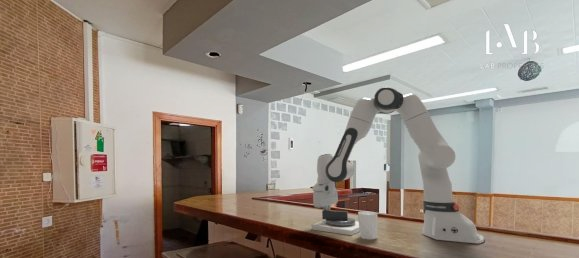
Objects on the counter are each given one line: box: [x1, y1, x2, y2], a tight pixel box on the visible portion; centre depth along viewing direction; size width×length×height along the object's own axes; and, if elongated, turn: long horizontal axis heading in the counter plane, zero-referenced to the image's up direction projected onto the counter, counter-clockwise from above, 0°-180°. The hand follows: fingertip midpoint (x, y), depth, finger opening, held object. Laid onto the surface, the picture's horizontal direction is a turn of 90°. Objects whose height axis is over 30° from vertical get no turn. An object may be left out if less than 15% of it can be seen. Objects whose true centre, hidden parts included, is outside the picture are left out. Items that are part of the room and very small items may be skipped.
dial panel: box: [311, 219, 360, 236], centre depth 134 cm, size 20×20×2 cm
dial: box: [321, 209, 356, 226], centre depth 135 cm, size 16×14×6 cm
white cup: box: [357, 210, 378, 240], centre depth 118 cm, size 8×8×10 cm
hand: (326, 214), depth 139 cm, fingers closed
